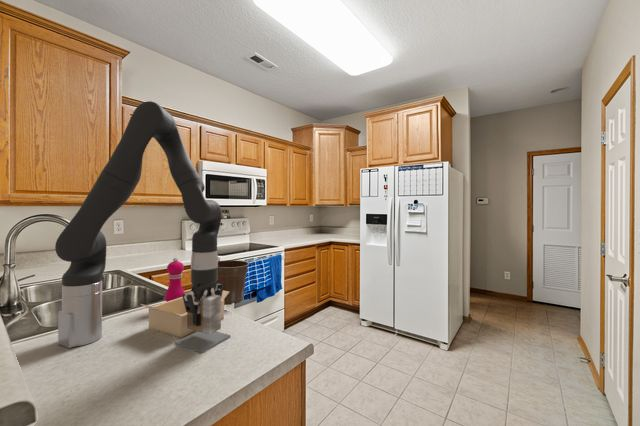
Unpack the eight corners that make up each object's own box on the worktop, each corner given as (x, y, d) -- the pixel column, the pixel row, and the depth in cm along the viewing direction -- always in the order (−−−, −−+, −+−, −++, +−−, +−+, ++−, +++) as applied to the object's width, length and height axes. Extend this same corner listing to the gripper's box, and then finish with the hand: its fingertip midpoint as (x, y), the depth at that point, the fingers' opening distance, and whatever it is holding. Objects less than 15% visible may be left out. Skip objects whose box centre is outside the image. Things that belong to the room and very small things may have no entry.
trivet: (202, 353, 79) (202, 350, 79) (174, 344, 84) (175, 342, 84) (230, 337, 89) (230, 335, 89) (204, 329, 94) (204, 328, 94)
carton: (172, 343, 84) (172, 312, 84) (139, 332, 91) (139, 303, 91) (230, 316, 106) (230, 291, 106) (199, 308, 113) (200, 285, 113)
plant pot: (252, 295, 132) (252, 260, 131) (243, 307, 116) (244, 267, 115) (216, 294, 131) (216, 259, 131) (202, 307, 115) (203, 267, 115)
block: (209, 334, 83) (209, 300, 82) (187, 328, 86) (187, 295, 86) (220, 328, 87) (221, 295, 86) (199, 323, 91) (199, 291, 90)
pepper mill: (180, 303, 118) (180, 255, 118) (188, 307, 114) (189, 257, 113) (161, 308, 113) (161, 257, 112) (169, 312, 108) (170, 259, 108)
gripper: (193, 272, 78) (193, 334, 78) (231, 263, 91) (230, 316, 91) (174, 269, 81) (174, 328, 82) (213, 261, 94) (213, 312, 95)
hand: (204, 322), depth 87 cm, fingers closed on block, 4 cm apart
